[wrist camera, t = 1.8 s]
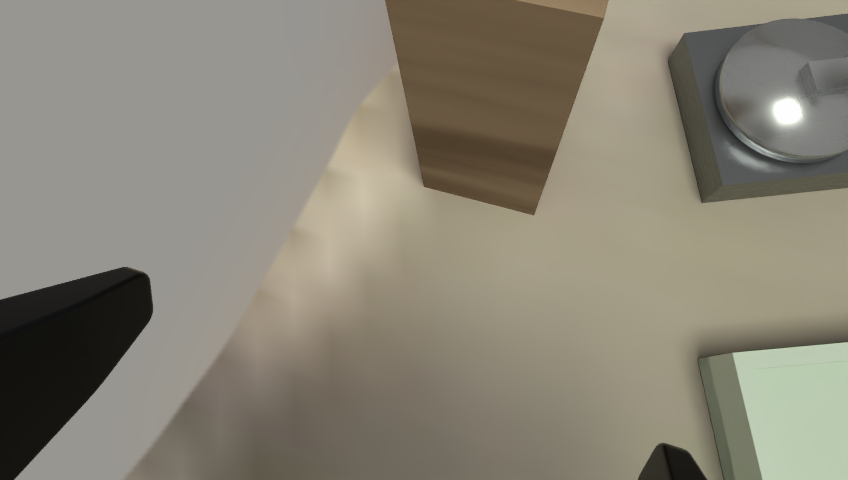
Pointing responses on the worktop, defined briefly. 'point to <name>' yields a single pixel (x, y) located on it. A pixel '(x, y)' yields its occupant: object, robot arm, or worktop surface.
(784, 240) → the worktop surface
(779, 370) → the tray
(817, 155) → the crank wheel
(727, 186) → the crank base
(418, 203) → the worktop surface
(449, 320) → the worktop surface
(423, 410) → the worktop surface
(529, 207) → the block
